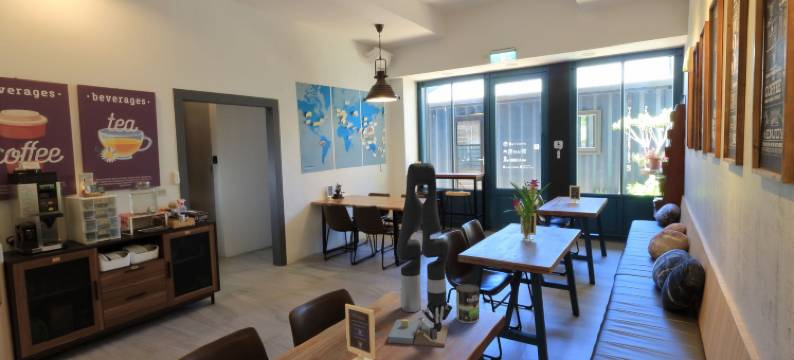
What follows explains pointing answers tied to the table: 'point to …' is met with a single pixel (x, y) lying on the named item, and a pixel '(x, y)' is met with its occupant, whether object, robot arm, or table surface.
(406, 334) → the frame
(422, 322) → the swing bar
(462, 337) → the table surface
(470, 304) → the coffee can
